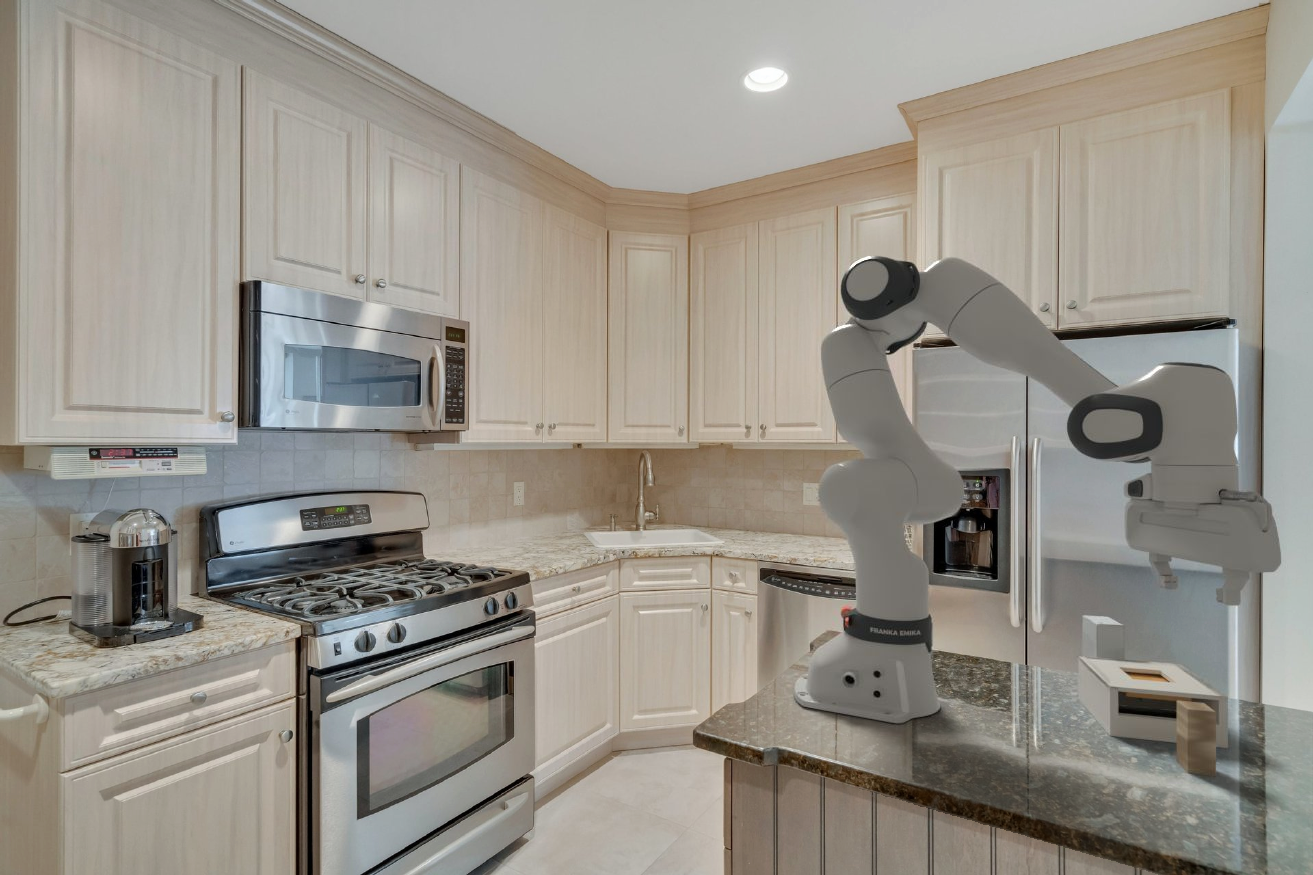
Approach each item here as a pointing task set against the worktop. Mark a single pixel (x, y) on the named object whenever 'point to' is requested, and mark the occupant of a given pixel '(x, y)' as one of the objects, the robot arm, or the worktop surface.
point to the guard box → (1108, 681)
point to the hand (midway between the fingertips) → (1196, 595)
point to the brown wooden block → (1196, 738)
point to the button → (1151, 697)
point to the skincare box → (1102, 638)
